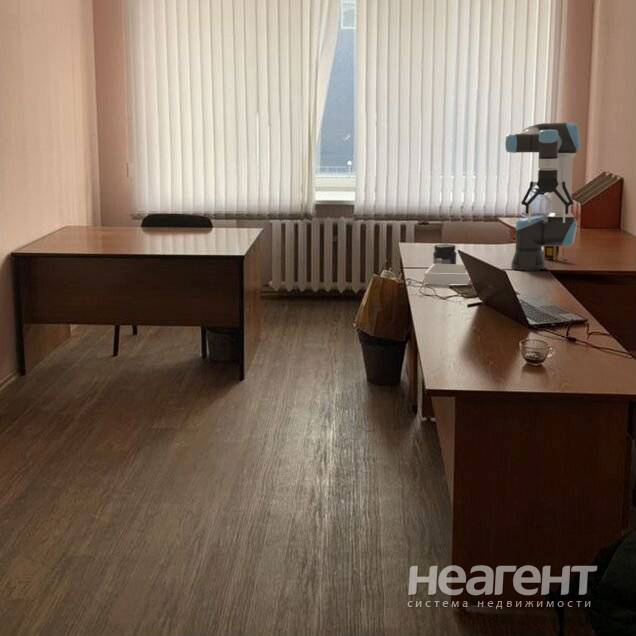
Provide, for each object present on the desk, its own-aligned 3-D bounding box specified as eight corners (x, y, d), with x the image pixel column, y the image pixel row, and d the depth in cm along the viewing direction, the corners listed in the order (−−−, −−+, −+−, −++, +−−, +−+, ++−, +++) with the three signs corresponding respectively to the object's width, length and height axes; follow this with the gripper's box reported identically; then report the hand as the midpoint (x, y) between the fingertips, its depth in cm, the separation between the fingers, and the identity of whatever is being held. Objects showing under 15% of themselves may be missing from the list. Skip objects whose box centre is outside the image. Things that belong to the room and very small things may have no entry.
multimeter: (574, 259, 480) (575, 217, 475) (561, 261, 474) (562, 219, 469) (549, 256, 491) (550, 215, 487) (536, 258, 485) (537, 217, 481)
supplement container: (455, 269, 460) (455, 243, 458) (457, 273, 450) (457, 247, 447) (432, 270, 460) (432, 244, 458) (434, 274, 450) (434, 247, 448)
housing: (433, 274, 449) (433, 263, 448) (473, 275, 444) (474, 264, 443) (424, 284, 426) (424, 273, 425) (467, 285, 421) (467, 274, 420)
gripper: (515, 170, 402) (514, 223, 406) (580, 169, 396) (578, 223, 400) (516, 168, 409) (515, 220, 413) (580, 168, 403) (578, 221, 407)
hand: (546, 222), depth 407 cm, fingers open, 13 cm apart
